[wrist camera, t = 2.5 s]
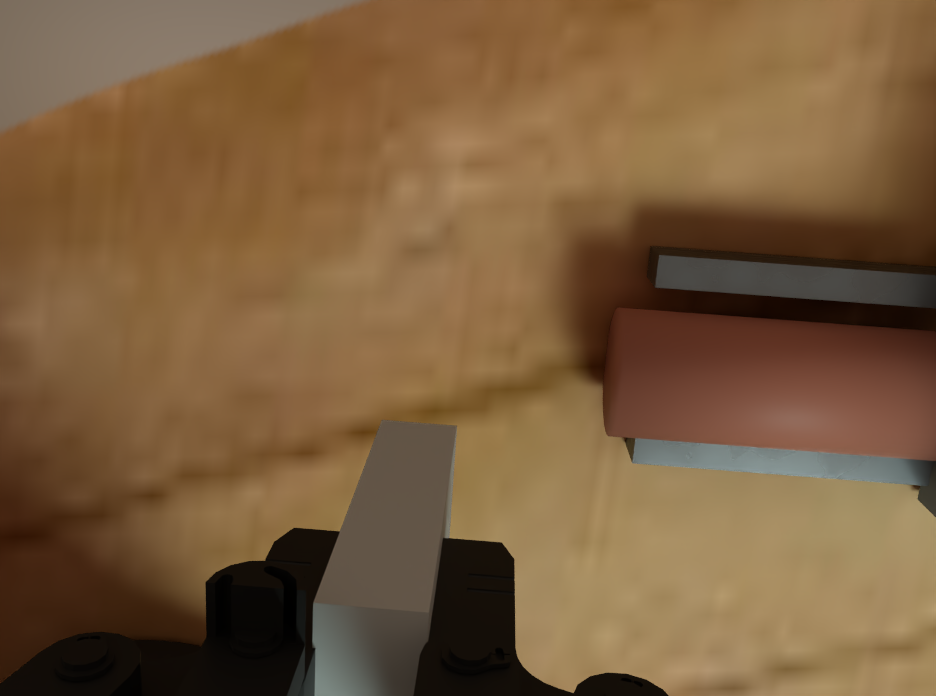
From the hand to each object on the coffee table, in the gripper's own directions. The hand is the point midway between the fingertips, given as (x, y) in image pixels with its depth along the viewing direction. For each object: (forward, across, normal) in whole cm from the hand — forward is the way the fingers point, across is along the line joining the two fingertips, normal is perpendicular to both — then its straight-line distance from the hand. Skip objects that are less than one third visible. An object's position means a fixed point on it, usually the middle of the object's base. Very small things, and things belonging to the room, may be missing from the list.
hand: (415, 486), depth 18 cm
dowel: (+12, -10, 0) cm, 16 cm away
